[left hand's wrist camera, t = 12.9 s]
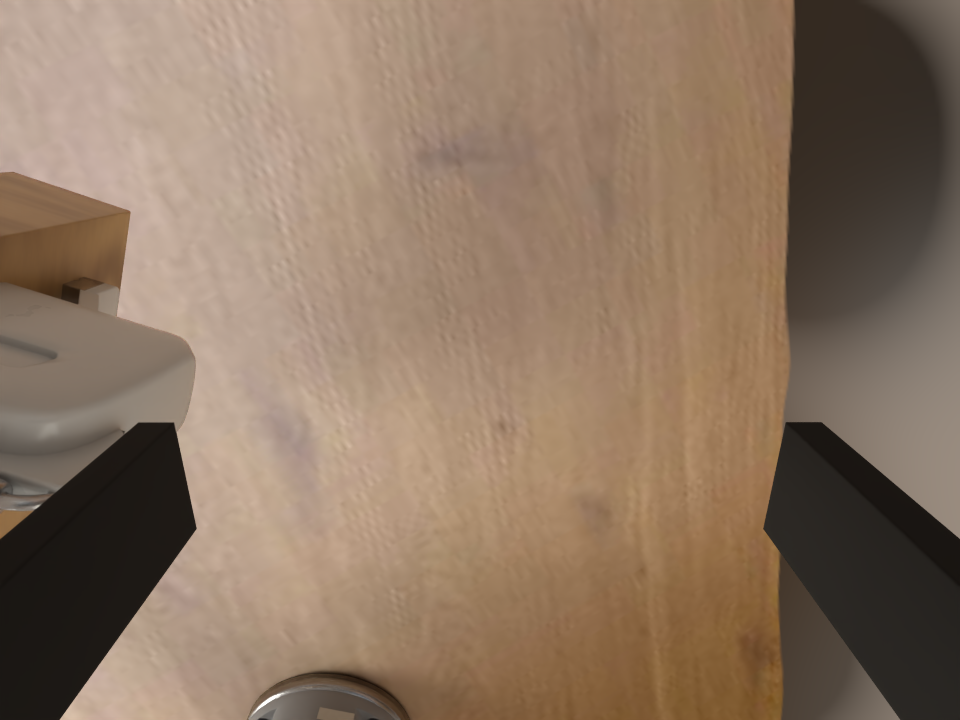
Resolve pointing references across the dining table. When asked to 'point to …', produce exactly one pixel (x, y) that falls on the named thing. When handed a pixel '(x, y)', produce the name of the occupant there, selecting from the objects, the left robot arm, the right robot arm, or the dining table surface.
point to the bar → (56, 247)
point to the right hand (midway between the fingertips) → (23, 272)
